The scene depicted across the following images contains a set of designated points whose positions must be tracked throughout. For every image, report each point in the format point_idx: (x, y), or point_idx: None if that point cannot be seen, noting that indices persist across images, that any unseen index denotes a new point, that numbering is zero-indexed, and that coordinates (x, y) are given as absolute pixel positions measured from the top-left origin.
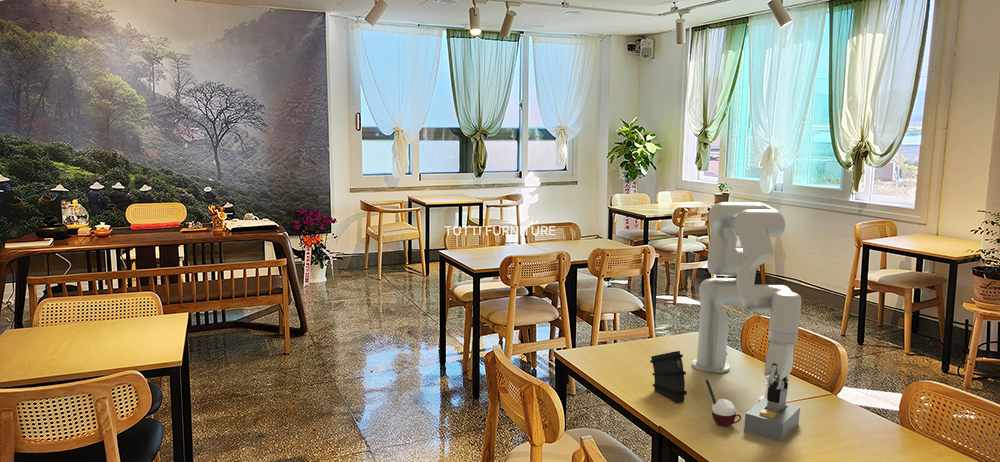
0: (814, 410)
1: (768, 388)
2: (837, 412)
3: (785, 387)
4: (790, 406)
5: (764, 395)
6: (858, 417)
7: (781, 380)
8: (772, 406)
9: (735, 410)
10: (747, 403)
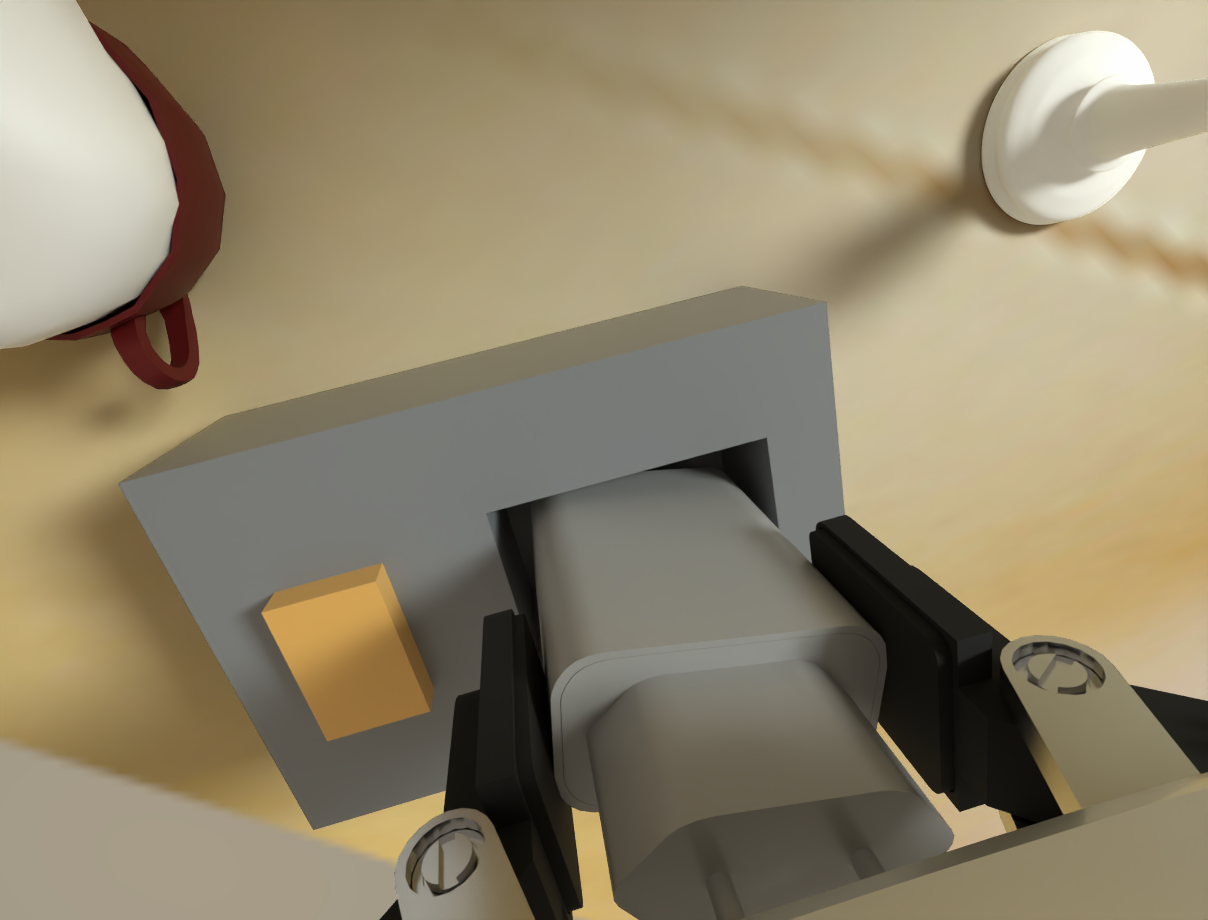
0: (1124, 491)
1: (476, 763)
2: (1186, 591)
3: (896, 729)
4: None
5: (1119, 80)
6: (1180, 692)
7: (876, 862)
8: (538, 608)
9: (120, 303)
10: (872, 11)
